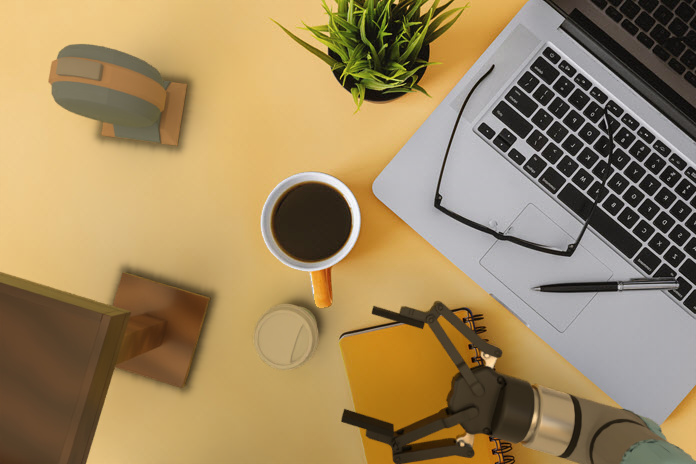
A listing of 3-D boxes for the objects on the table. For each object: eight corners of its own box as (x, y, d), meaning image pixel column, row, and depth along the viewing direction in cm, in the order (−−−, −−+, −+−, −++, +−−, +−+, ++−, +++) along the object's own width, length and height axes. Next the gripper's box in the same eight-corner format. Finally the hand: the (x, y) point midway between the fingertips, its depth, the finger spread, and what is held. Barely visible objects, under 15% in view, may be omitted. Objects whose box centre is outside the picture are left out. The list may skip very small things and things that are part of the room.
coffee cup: (294, 365, 73) (278, 387, 61) (258, 321, 74) (236, 334, 62) (337, 329, 73) (330, 344, 61) (302, 285, 73) (288, 291, 61)
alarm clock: (193, 85, 76) (138, 34, 58) (183, 146, 75) (125, 114, 58) (106, 74, 77) (25, 20, 59) (95, 134, 76) (12, 98, 59)
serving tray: (75, 499, 45) (50, 520, 41) (-100, 441, 46) (-139, 456, 42) (131, 311, 45) (111, 316, 42) (-44, 258, 46) (-78, 258, 43)
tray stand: (184, 386, 74) (62, 472, 45) (99, 359, 75) (-75, 426, 46) (210, 297, 74) (105, 326, 45) (125, 272, 75) (-31, 284, 46)
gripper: (490, 497, 62) (332, 447, 64) (541, 310, 63) (384, 265, 64) (505, 530, 55) (326, 473, 56) (563, 318, 55) (385, 267, 57)
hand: (357, 362), depth 60 cm, fingers open, 13 cm apart
